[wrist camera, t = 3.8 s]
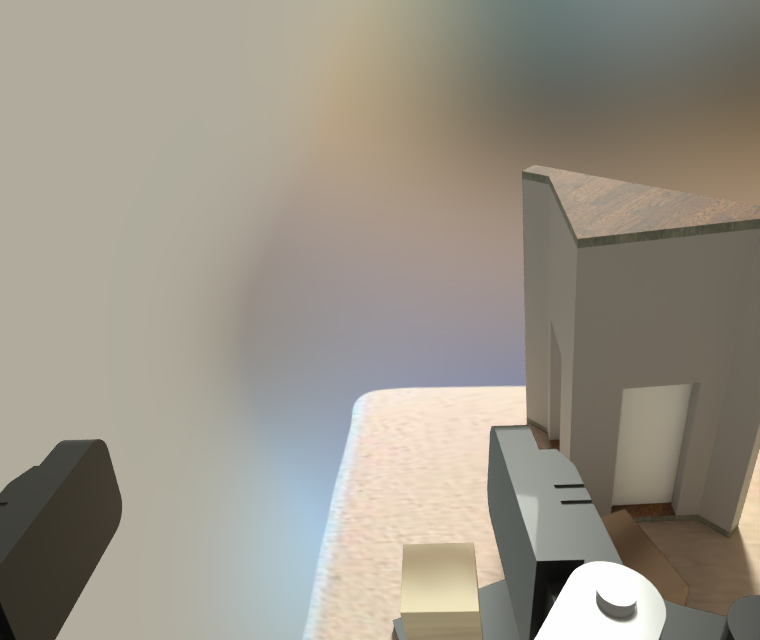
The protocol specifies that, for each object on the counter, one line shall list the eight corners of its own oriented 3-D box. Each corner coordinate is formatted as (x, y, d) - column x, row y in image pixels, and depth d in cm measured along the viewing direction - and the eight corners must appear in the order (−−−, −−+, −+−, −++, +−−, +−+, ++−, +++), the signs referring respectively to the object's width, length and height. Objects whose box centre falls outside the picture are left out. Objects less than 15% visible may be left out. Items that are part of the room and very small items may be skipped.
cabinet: (737, 526, 49) (824, 218, 34) (677, 602, 44) (746, 285, 29) (536, 413, 63) (534, 165, 49) (475, 462, 59) (453, 204, 44)
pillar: (489, 711, 39) (479, 611, 33) (423, 710, 40) (400, 612, 33) (483, 644, 43) (473, 542, 37) (423, 644, 44) (403, 544, 37)
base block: (680, 627, 42) (689, 586, 39) (593, 662, 41) (597, 622, 38) (620, 548, 48) (624, 508, 45) (543, 577, 47) (543, 538, 44)
